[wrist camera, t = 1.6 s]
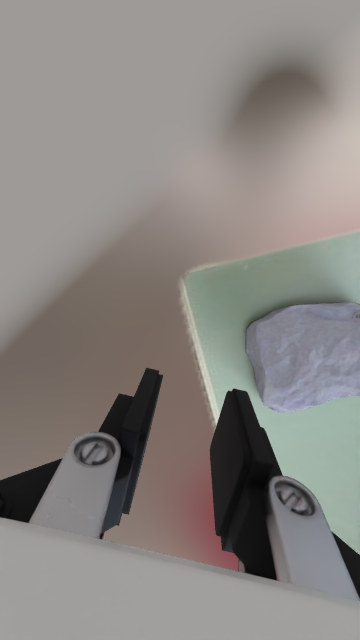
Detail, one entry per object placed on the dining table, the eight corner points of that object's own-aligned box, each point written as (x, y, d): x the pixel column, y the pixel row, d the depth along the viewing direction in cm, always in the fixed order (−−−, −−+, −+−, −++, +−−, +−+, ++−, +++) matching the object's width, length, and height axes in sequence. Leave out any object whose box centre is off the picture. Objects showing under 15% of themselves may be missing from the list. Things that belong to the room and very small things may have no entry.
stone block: (236, 317, 29) (258, 404, 29) (243, 319, 24) (270, 423, 24) (346, 289, 28) (368, 380, 28) (376, 285, 23) (403, 394, 23)
